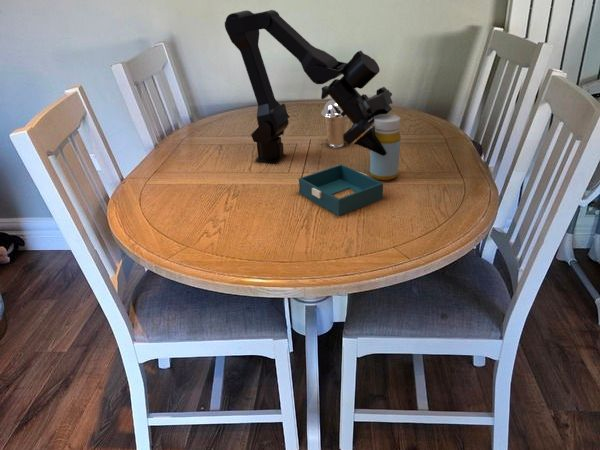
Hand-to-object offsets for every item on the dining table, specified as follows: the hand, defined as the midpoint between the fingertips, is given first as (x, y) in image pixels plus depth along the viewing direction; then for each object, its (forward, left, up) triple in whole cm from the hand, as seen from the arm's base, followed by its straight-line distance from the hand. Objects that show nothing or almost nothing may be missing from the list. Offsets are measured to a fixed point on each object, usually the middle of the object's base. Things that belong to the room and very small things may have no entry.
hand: (390, 149), depth 119 cm
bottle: (-1, 0, -7) cm, 7 cm away
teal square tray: (-9, -13, -8) cm, 17 cm away
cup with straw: (-20, +19, -8) cm, 29 cm away
